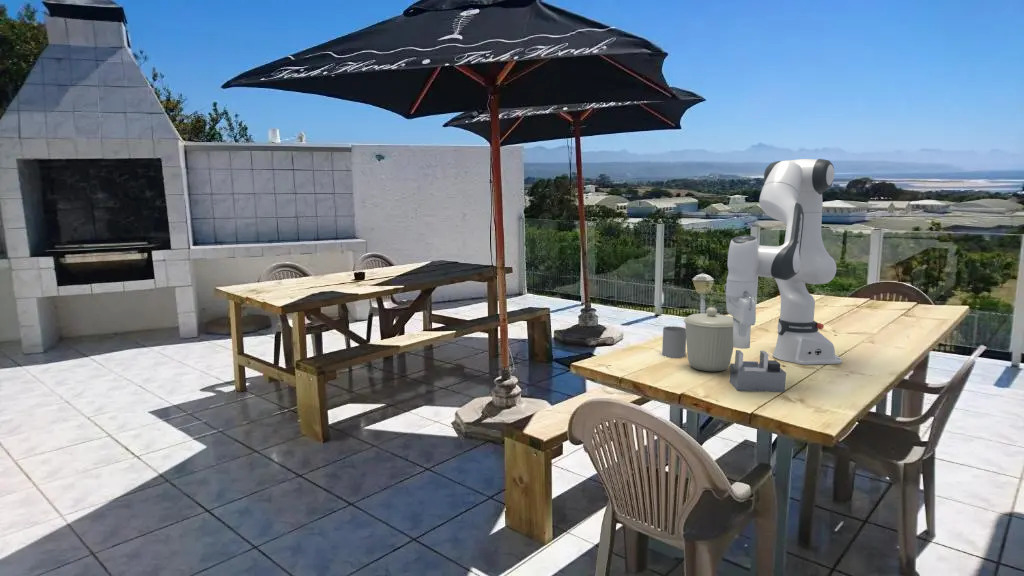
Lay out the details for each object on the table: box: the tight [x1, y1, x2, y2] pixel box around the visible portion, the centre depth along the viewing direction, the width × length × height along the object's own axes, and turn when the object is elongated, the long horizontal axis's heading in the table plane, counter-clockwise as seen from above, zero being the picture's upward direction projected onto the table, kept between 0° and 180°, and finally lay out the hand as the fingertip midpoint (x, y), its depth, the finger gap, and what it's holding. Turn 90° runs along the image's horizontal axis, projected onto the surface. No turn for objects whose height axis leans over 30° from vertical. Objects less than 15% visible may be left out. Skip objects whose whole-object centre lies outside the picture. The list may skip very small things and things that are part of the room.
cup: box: [661, 325, 687, 359], centre depth 223 cm, size 8×8×10 cm
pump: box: [733, 320, 752, 350], centre depth 186 cm, size 5×5×9 cm
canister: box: [683, 306, 734, 373], centre depth 206 cm, size 18×18×21 cm
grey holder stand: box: [728, 349, 787, 393], centre depth 186 cm, size 14×9×11 cm, turn 85°
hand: (739, 333), depth 187 cm, fingers closed on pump, 5 cm apart
